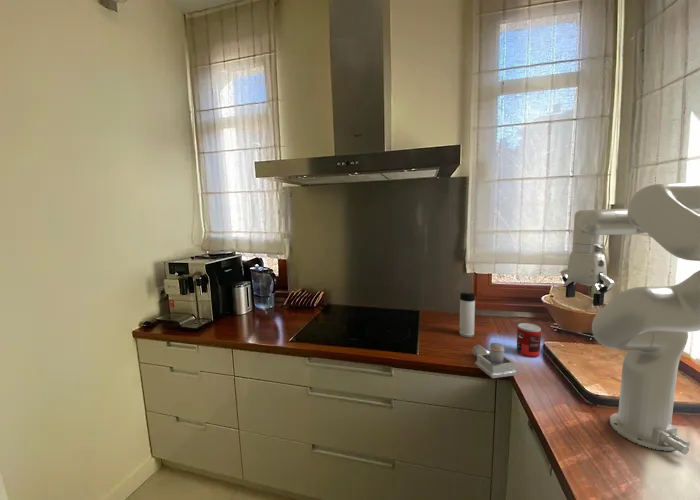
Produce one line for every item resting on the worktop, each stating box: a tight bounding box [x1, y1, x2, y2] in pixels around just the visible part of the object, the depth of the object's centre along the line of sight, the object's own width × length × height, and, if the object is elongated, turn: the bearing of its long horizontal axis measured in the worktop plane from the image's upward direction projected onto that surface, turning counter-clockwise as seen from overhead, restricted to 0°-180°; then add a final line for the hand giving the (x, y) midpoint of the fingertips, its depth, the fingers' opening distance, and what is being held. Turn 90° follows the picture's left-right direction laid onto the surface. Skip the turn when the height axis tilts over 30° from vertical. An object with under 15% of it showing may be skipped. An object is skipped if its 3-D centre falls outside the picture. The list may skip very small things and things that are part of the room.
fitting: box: [472, 344, 519, 379], centre depth 112 cm, size 16×10×4 cm, turn 11°
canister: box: [489, 342, 505, 364], centre depth 109 cm, size 5×5×8 cm
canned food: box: [516, 322, 542, 358], centre depth 120 cm, size 8×8×11 cm
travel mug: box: [459, 292, 476, 338], centre depth 139 cm, size 6×7×20 cm
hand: (583, 301), depth 100 cm, fingers open, 9 cm apart
